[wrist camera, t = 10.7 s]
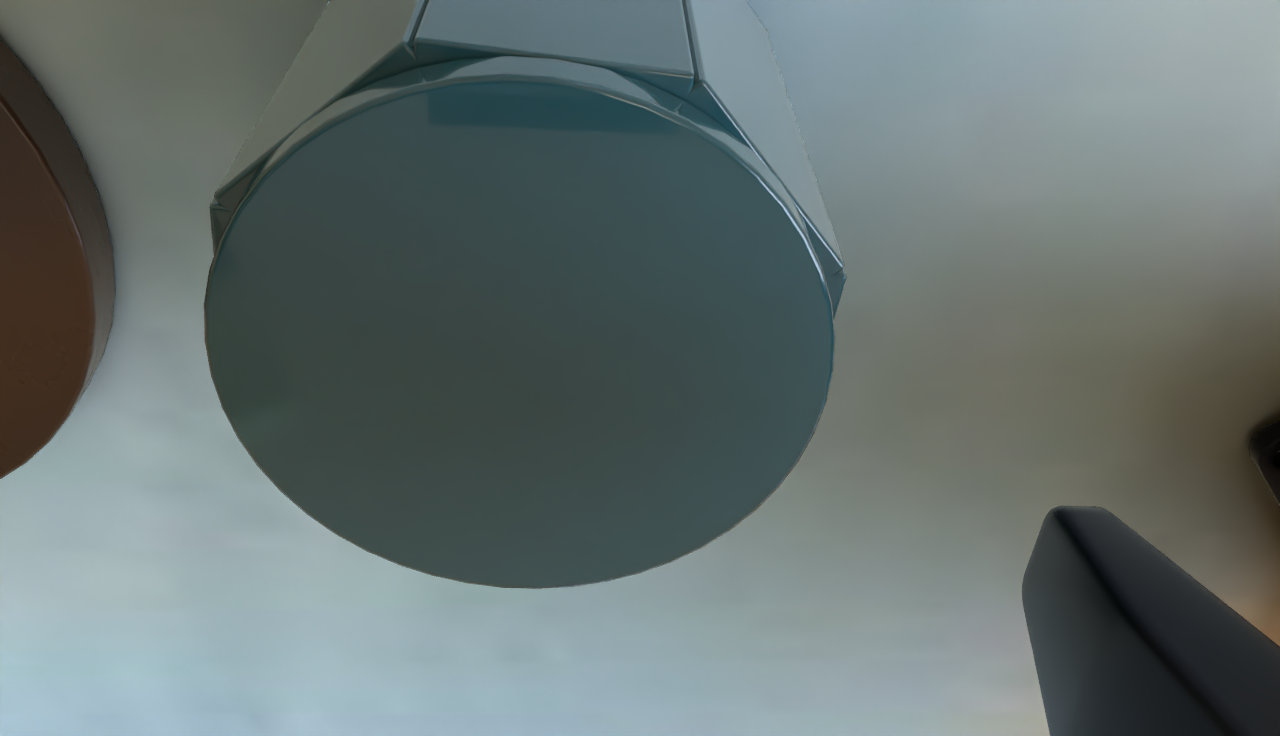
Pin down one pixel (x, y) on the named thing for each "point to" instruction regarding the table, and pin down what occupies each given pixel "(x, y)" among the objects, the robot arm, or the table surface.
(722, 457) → the cup
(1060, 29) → the table surface
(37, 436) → the holder
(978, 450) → the table surface
